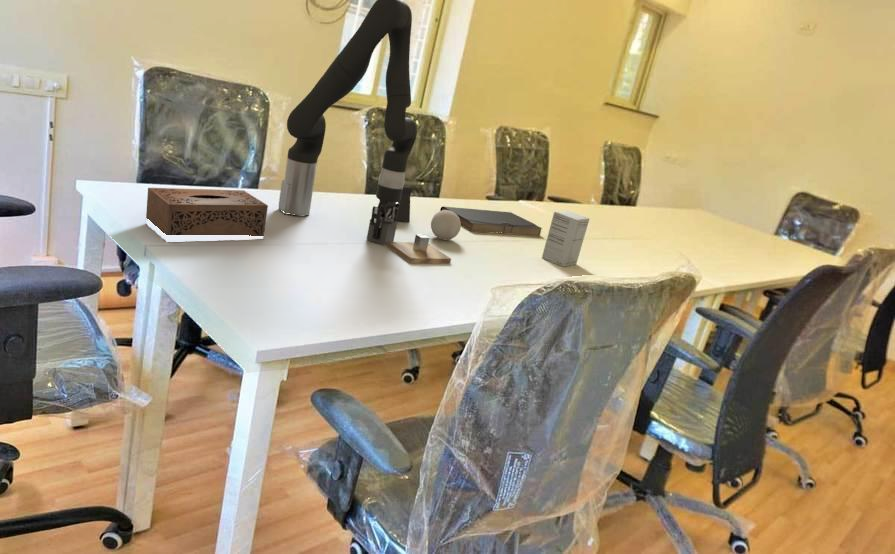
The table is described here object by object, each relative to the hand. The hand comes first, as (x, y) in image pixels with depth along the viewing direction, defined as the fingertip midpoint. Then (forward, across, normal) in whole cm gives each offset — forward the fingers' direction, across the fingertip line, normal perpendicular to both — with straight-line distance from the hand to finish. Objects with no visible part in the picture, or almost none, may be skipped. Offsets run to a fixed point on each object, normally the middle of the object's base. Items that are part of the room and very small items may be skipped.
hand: (380, 237), depth 194 cm
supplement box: (+2, +42, -49) cm, 64 cm away
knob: (+1, 0, 0) cm, 1 cm away
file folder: (+2, +65, -15) cm, 67 cm away
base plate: (+1, -1, -14) cm, 14 cm away
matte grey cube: (0, -1, -14) cm, 14 cm away
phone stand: (+2, +31, +10) cm, 33 cm away
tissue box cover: (+2, -40, +32) cm, 51 cm away
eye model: (+2, +24, -12) cm, 26 cm away
